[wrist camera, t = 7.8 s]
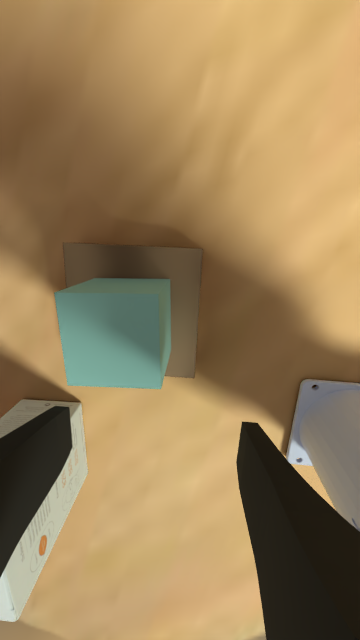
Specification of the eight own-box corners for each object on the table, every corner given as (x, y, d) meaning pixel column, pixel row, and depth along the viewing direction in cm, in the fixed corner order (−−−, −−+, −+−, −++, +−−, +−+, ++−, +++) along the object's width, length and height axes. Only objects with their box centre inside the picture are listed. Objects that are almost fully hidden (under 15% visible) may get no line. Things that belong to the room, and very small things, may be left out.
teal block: (170, 278, 17) (158, 293, 12) (171, 350, 18) (160, 389, 13) (94, 278, 17) (54, 292, 12) (101, 348, 19) (67, 385, 14)
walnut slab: (202, 248, 19) (202, 248, 16) (195, 360, 22) (194, 378, 19) (82, 243, 20) (62, 242, 17) (89, 353, 22) (72, 369, 19)
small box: (22, 396, 23) (-114, 512, 13) (83, 400, 23) (-8, 523, 13) (34, 468, 25) (-75, 615, 15) (89, 473, 25) (16, 626, 15)
